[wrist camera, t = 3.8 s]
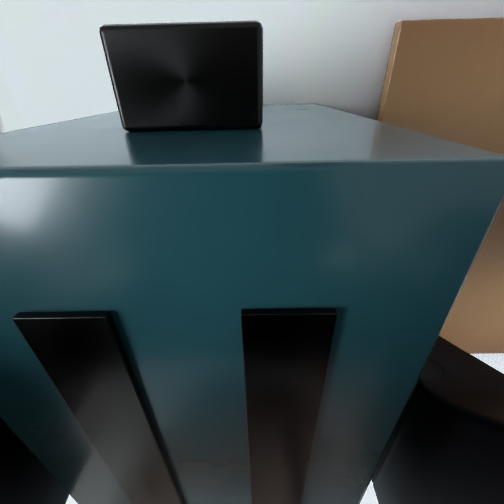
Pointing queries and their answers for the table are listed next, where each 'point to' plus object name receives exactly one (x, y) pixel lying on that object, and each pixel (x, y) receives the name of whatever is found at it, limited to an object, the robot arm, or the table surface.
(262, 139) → the toaster
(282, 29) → the table surface
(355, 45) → the table surface
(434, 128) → the mat
